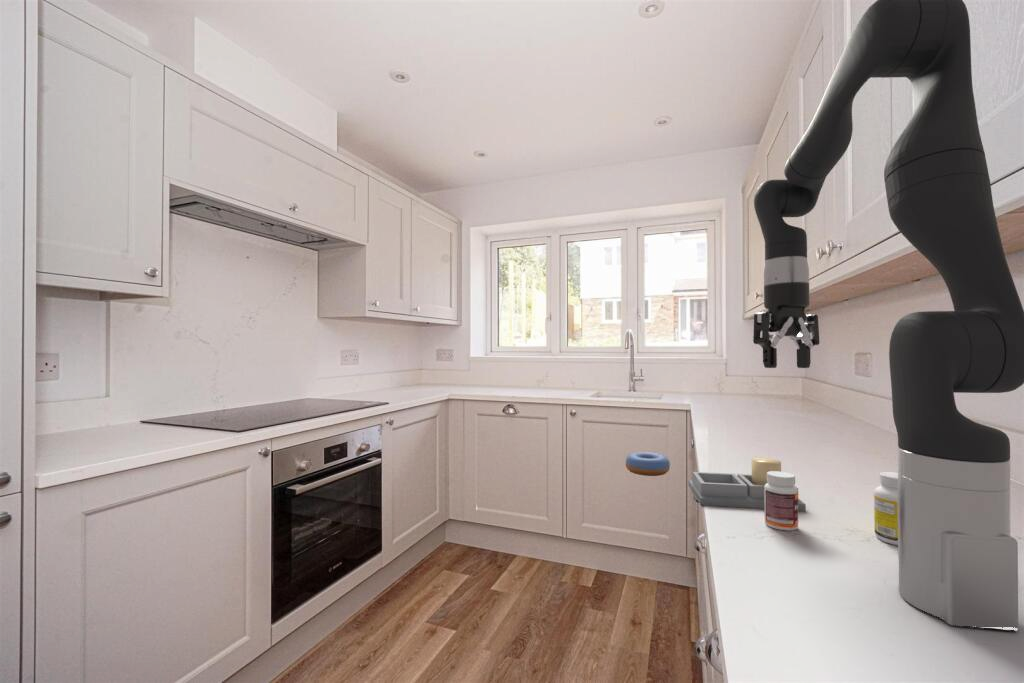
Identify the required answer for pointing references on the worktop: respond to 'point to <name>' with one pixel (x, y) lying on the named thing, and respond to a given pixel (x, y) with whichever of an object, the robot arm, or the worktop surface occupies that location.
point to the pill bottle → (781, 501)
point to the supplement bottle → (886, 508)
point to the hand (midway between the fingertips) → (787, 367)
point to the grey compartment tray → (736, 486)
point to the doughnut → (647, 464)
